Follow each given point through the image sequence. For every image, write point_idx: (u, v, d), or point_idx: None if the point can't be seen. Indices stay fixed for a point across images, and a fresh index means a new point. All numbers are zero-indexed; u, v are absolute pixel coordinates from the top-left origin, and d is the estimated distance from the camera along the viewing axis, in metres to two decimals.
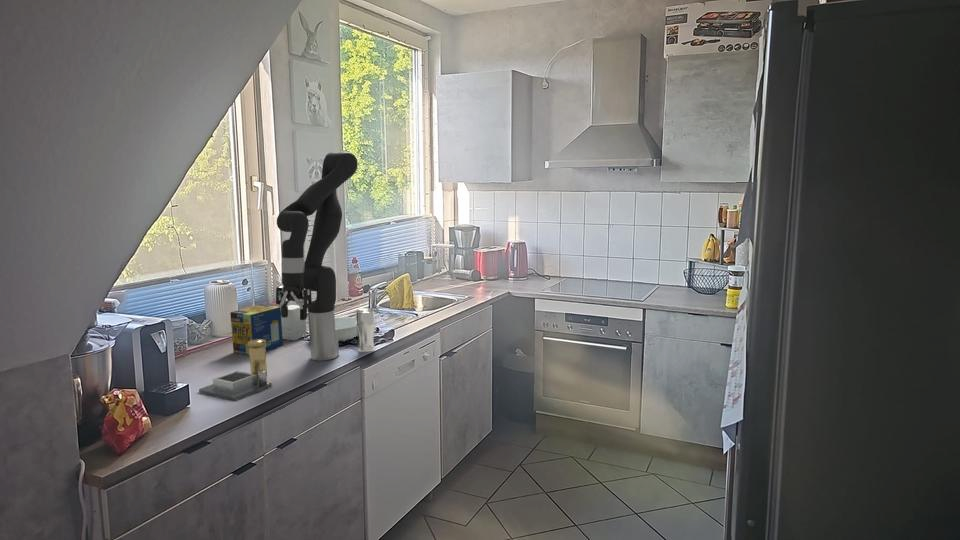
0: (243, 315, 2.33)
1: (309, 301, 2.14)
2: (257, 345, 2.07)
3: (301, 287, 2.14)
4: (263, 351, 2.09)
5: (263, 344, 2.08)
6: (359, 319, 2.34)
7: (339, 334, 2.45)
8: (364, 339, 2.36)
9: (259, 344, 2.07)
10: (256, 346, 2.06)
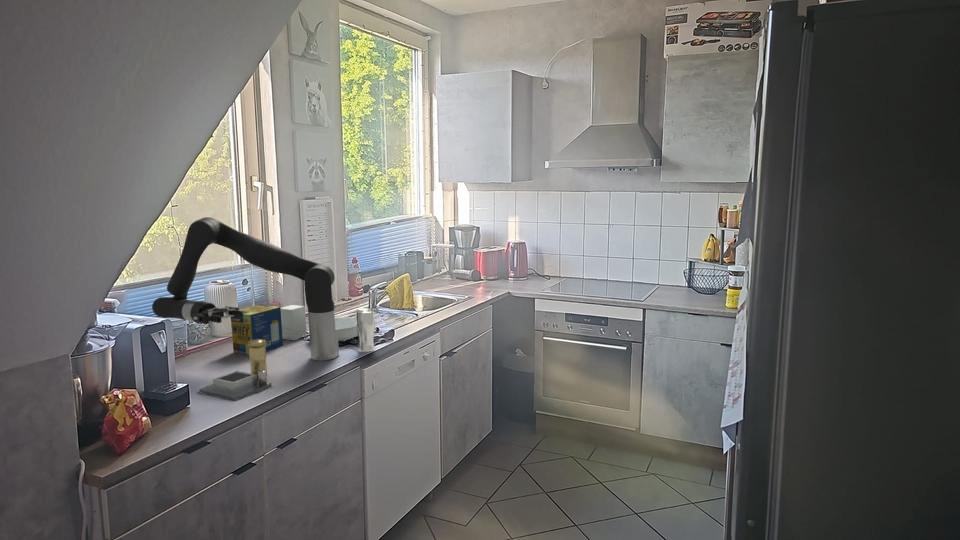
0: (243, 315, 2.33)
1: None
2: (257, 345, 2.07)
3: None
4: (263, 351, 2.09)
5: (263, 344, 2.08)
6: (359, 319, 2.34)
7: (339, 334, 2.45)
8: (364, 339, 2.36)
9: (259, 344, 2.07)
10: (256, 346, 2.06)
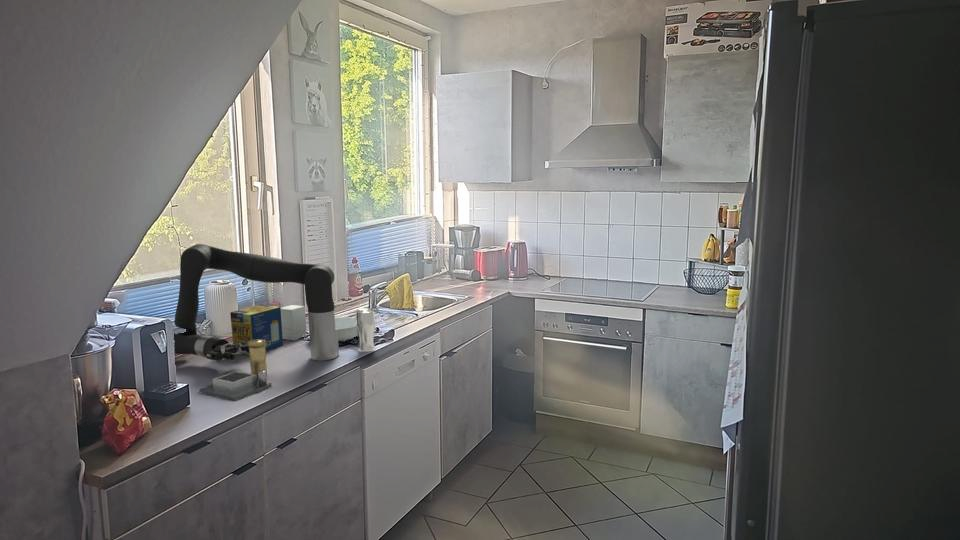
0: (243, 315, 2.33)
1: None
2: (257, 345, 2.07)
3: None
4: (263, 351, 2.09)
5: (263, 344, 2.08)
6: (359, 319, 2.34)
7: (339, 334, 2.45)
8: (364, 339, 2.36)
9: (259, 344, 2.07)
10: (256, 346, 2.06)
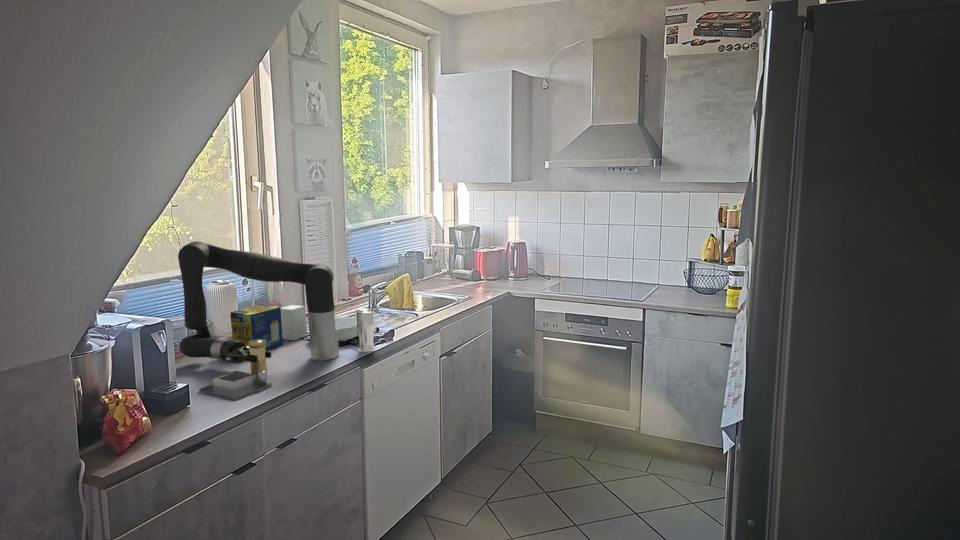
0: (243, 315, 2.33)
1: None
2: (257, 345, 2.06)
3: None
4: (263, 351, 2.08)
5: (263, 344, 2.08)
6: (359, 319, 2.34)
7: (339, 334, 2.45)
8: (364, 339, 2.36)
9: (259, 344, 2.07)
10: (256, 346, 2.06)
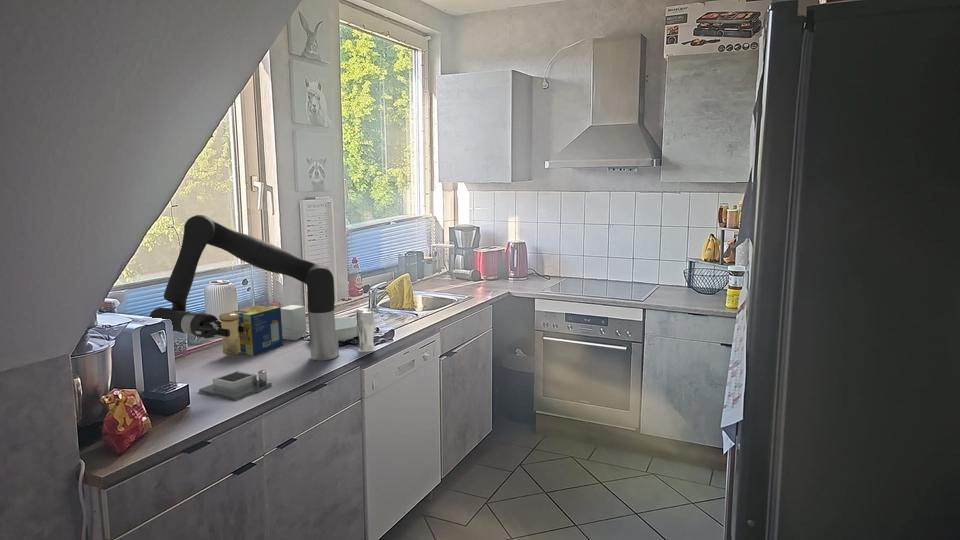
0: (243, 315, 2.33)
1: None
2: (229, 318, 1.93)
3: None
4: (236, 325, 1.95)
5: (236, 317, 1.94)
6: (359, 319, 2.34)
7: (339, 334, 2.45)
8: (364, 339, 2.36)
9: (231, 317, 1.93)
10: (228, 319, 1.93)
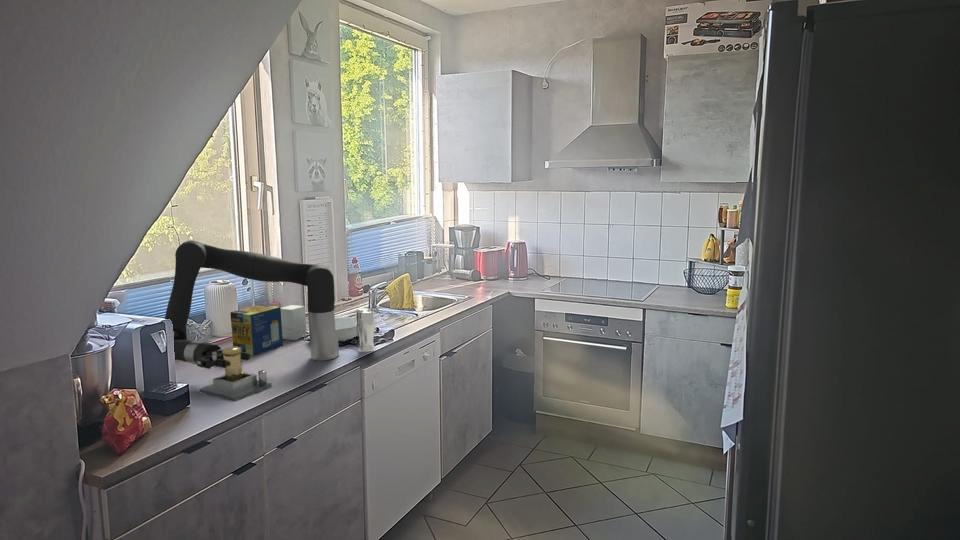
0: (243, 315, 2.33)
1: None
2: (232, 353, 1.94)
3: None
4: (238, 359, 1.97)
5: (238, 352, 1.96)
6: (359, 319, 2.34)
7: (339, 334, 2.45)
8: (364, 339, 2.36)
9: (234, 352, 1.95)
10: (230, 354, 1.94)
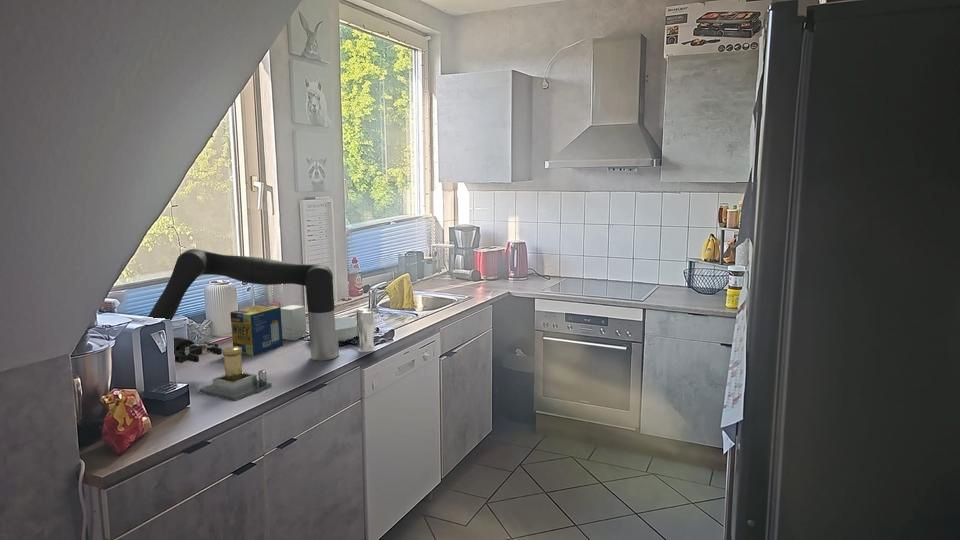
0: (243, 315, 2.33)
1: None
2: (232, 353, 1.94)
3: None
4: (238, 359, 1.96)
5: (238, 352, 1.96)
6: (359, 319, 2.34)
7: (339, 334, 2.45)
8: (364, 339, 2.36)
9: (234, 352, 1.95)
10: (231, 354, 1.94)
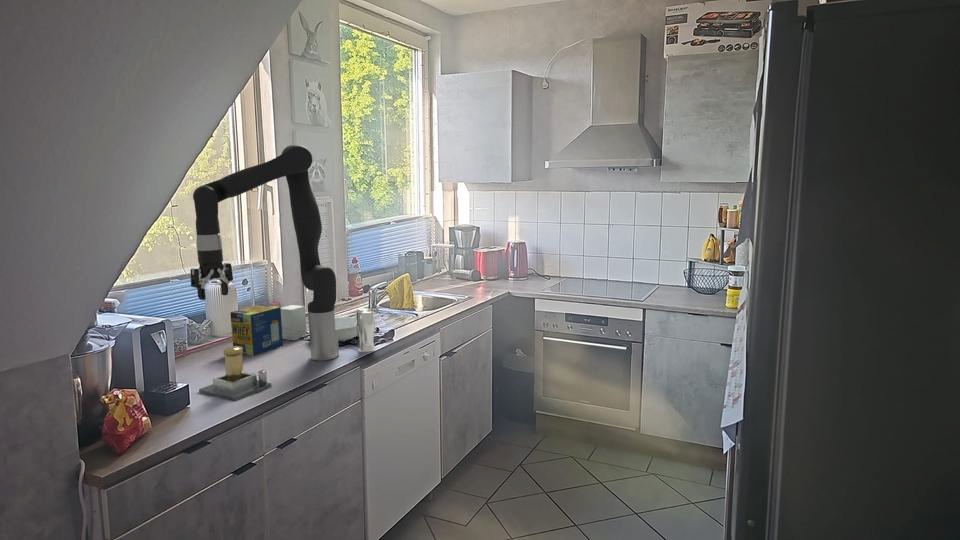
0: (243, 315, 2.33)
1: None
2: (233, 353, 1.94)
3: (200, 266, 2.05)
4: (239, 359, 1.96)
5: (239, 352, 1.96)
6: (359, 319, 2.34)
7: (339, 334, 2.45)
8: (364, 339, 2.36)
9: (235, 352, 1.95)
10: (231, 354, 1.94)
